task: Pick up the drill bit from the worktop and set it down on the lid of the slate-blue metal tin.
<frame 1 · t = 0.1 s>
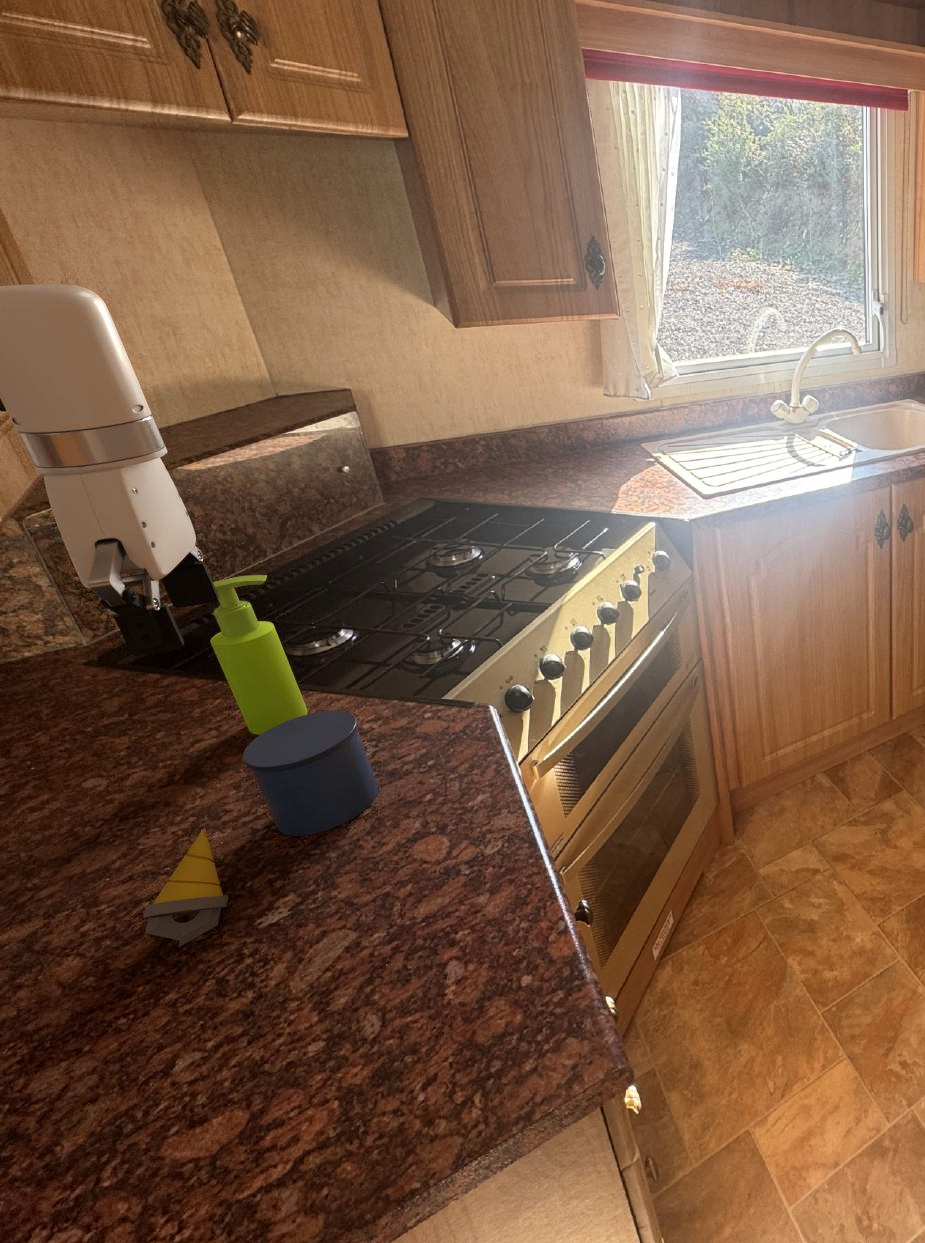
hand: (179, 626, 67), 26 cm above the countertop, tool pointing down, fingers open, 9 cm apart
soap dispenser: (284, 720, 96), on the countertop
tin: (329, 805, 81), on the countertop
drill bit: (198, 918, 68), on the countertop
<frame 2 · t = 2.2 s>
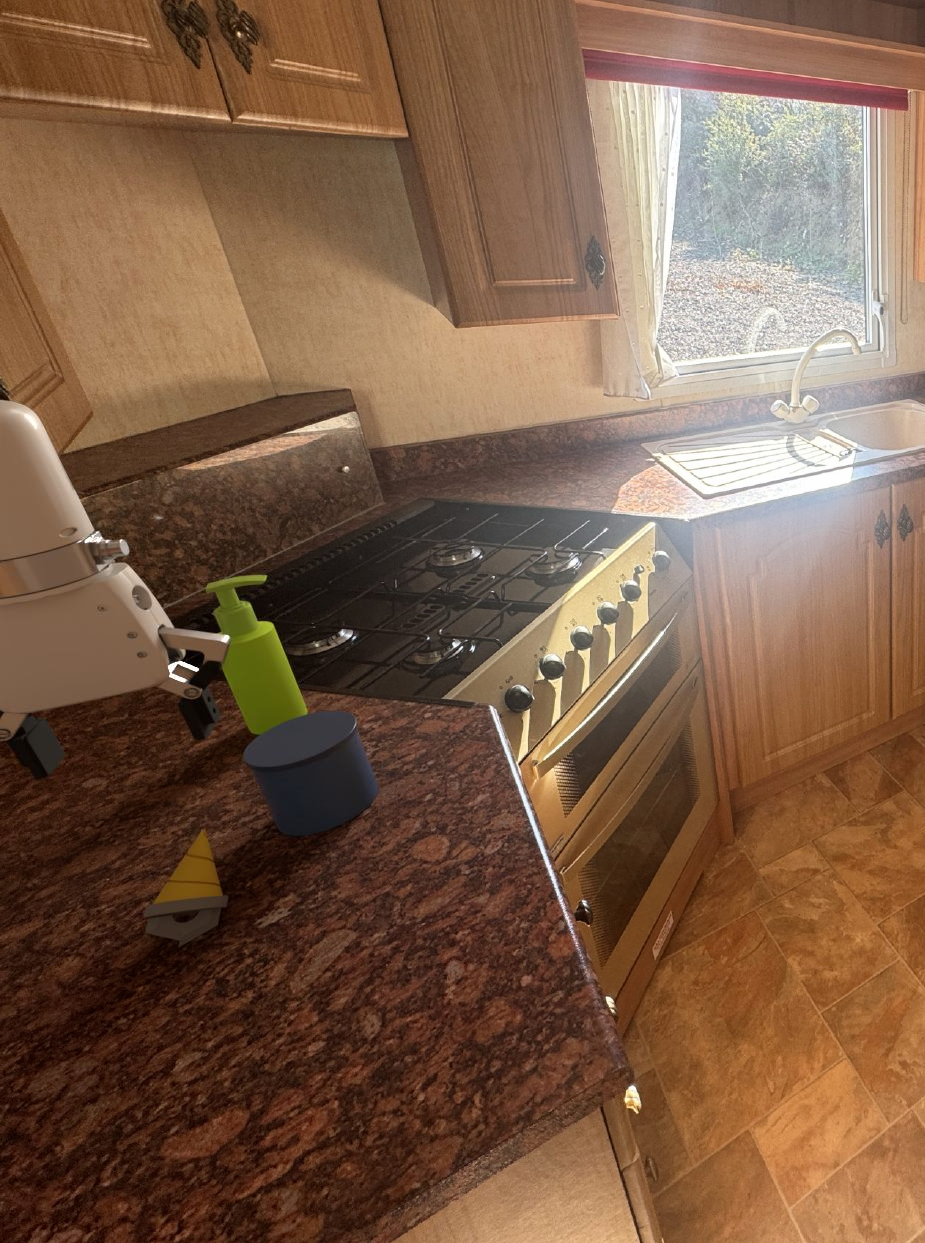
hand: (132, 748, 62), 18 cm above the countertop, tool pointing down, fingers open, 9 cm apart
nothing on the countertop moved.
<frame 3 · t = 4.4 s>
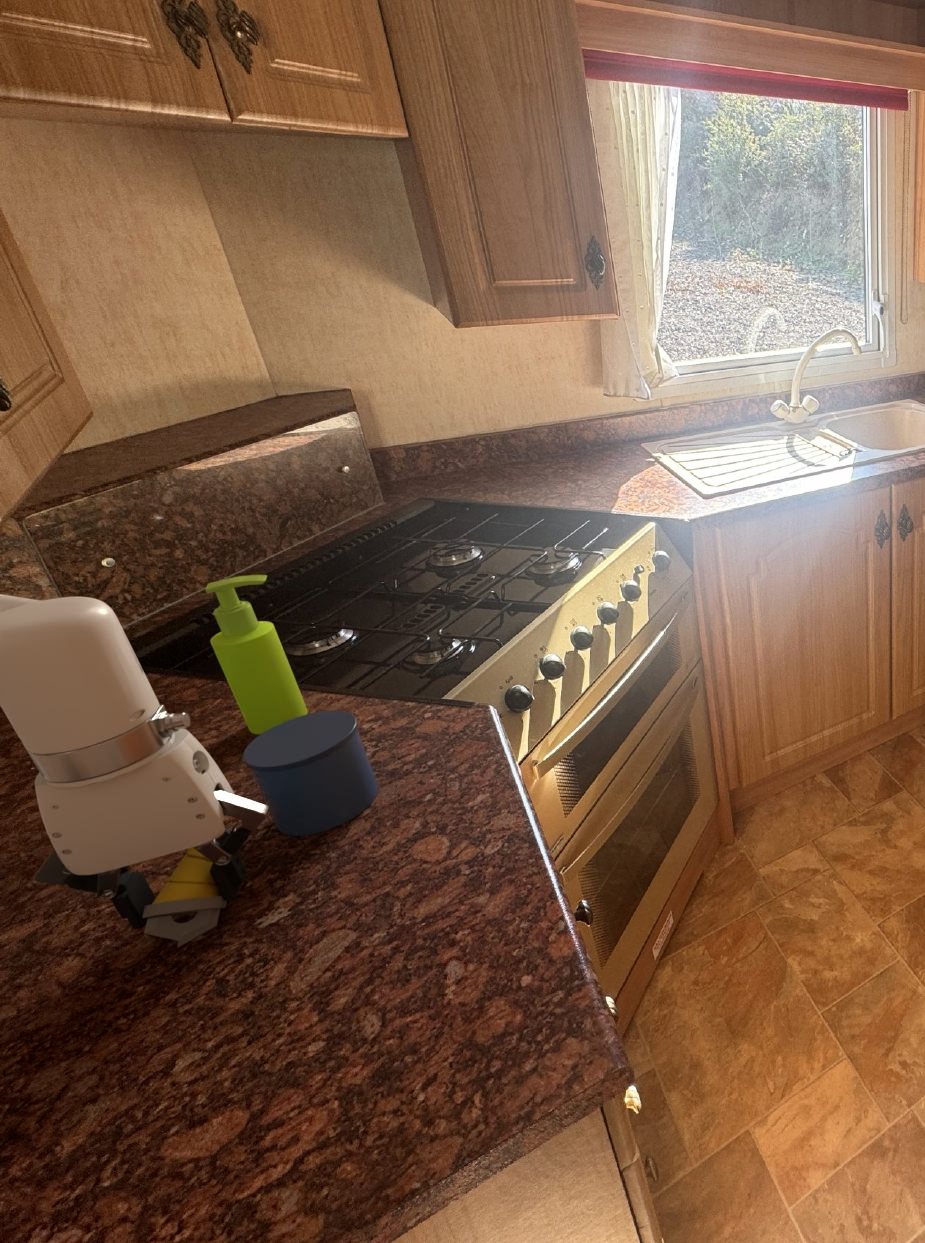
hand: (191, 901, 67), 2 cm above the countertop, tool pointing down, fingers closed on drill bit, 5 cm apart
drill bit: (198, 918, 68), on the countertop, touching gripper
everything else where it was.
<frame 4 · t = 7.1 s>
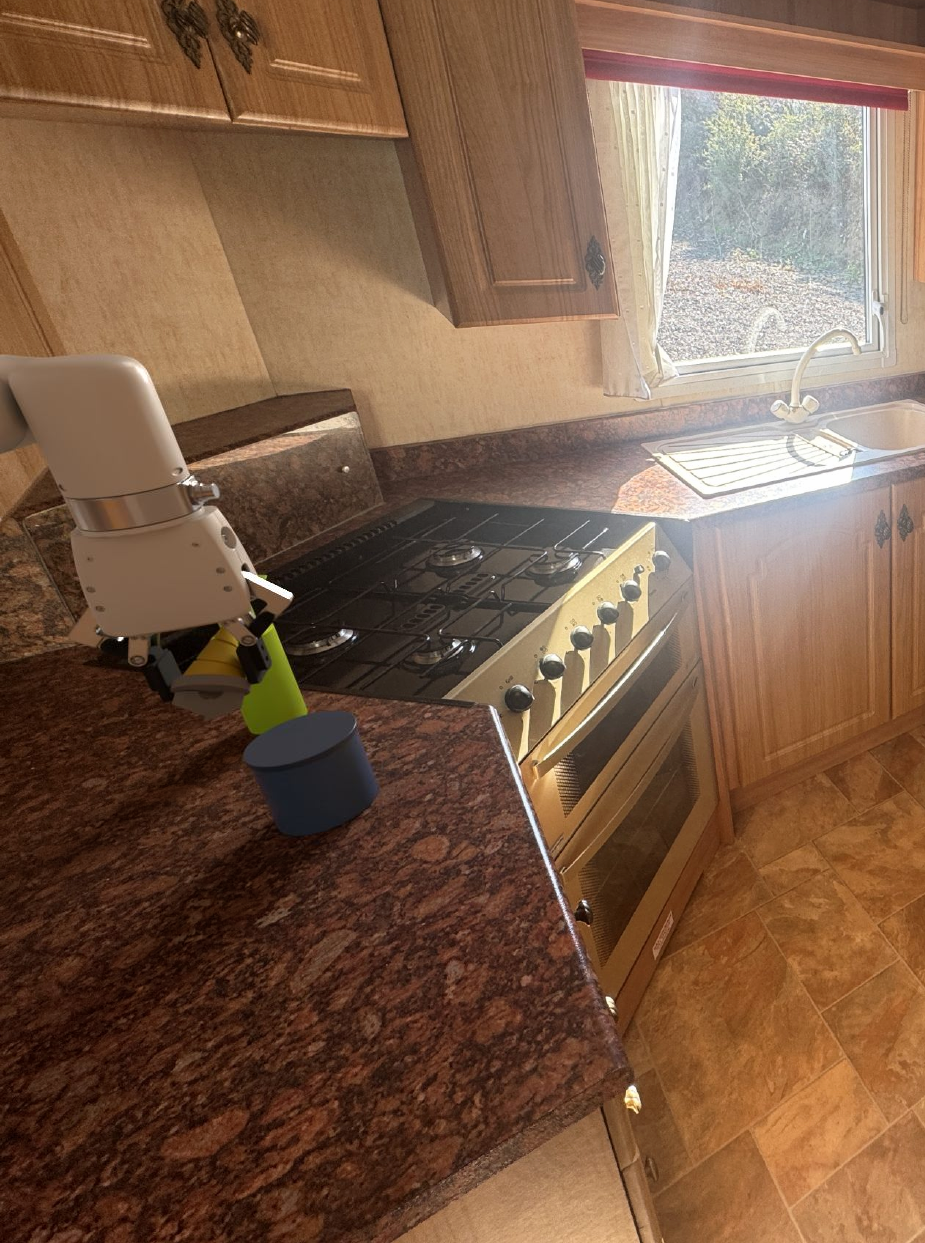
hand: (217, 683, 69), 19 cm above the countertop, tool pointing down, fingers closed on drill bit, 5 cm apart
drill bit: (223, 703, 70), point 17 cm above the countertop, touching gripper
everything else where it was.
when the fingers open (11 cm above the countertop, at t = 9.9 s): drill bit stays where it is, resting on tin.
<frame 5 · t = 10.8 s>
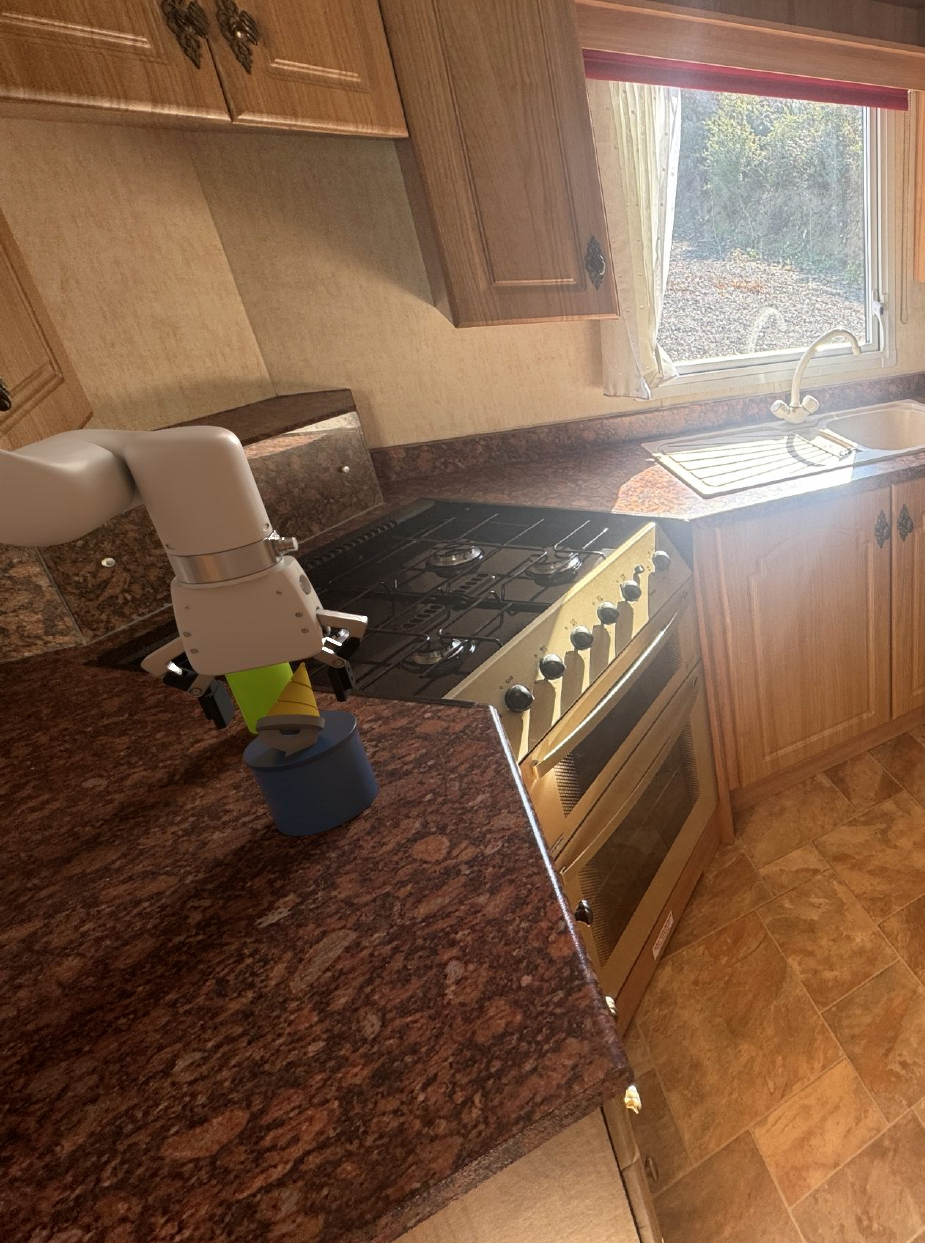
hand: (287, 708, 76), 13 cm above the countertop, tool pointing down, fingers open, 9 cm apart
drill bit: (299, 739, 78), point 9 cm above the countertop, touching tin
everything else where it was.
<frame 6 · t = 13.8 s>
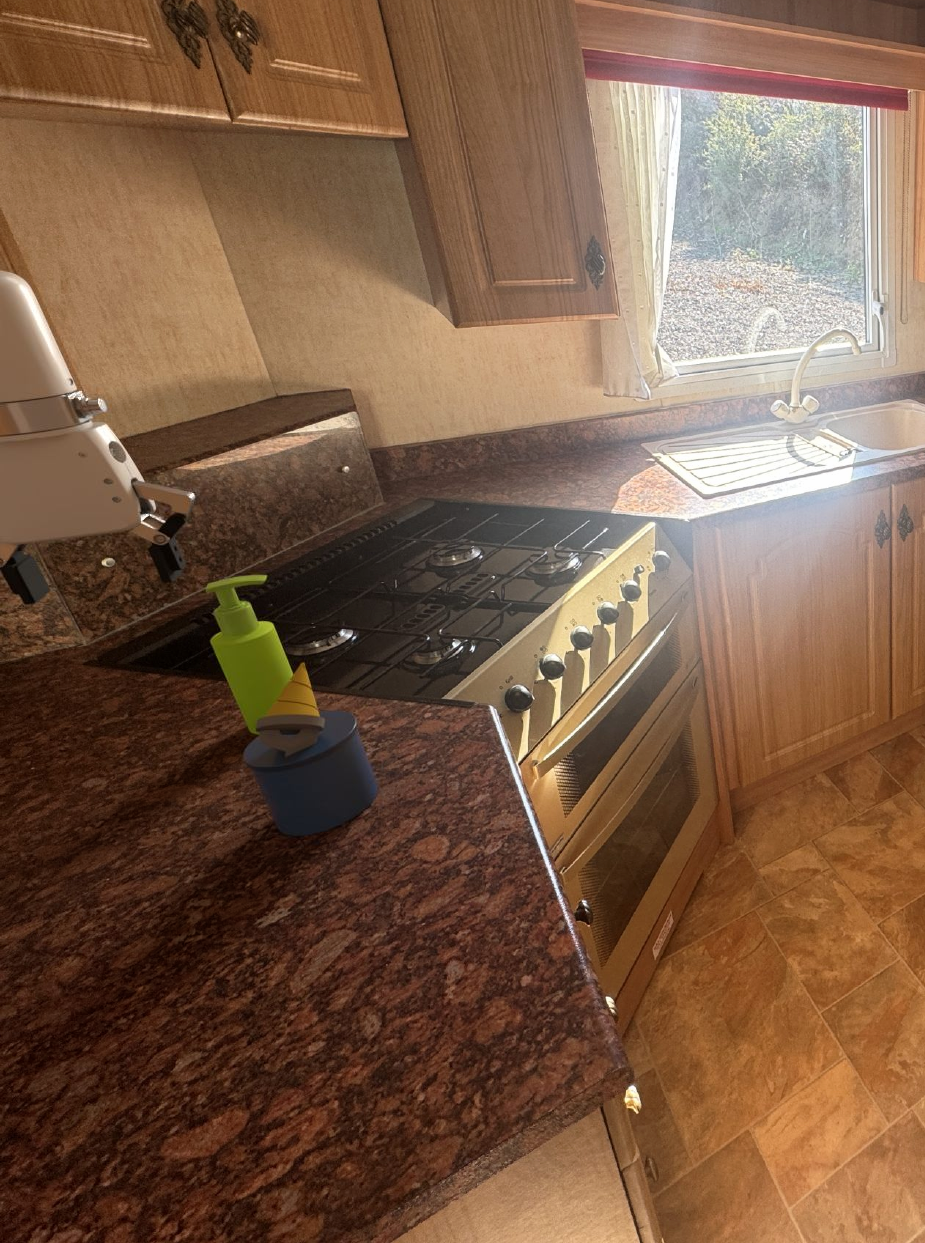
hand: (108, 587, 72), 26 cm above the countertop, tool pointing down, fingers open, 9 cm apart
nothing on the countertop moved.
at the end: drill bit 0.2 cm off-centre on the tin, point 9.1 cm above the tin's base; drill bit tilted 1°; the gripper is holding nothing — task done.
